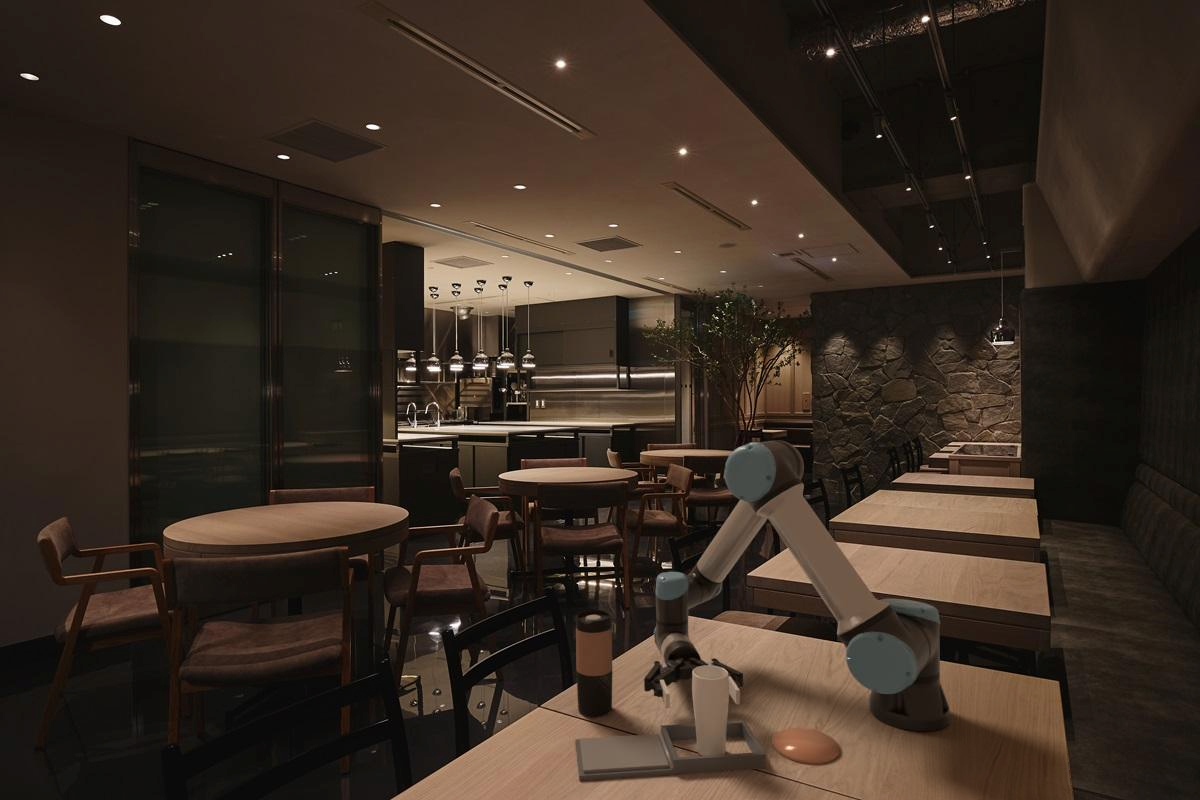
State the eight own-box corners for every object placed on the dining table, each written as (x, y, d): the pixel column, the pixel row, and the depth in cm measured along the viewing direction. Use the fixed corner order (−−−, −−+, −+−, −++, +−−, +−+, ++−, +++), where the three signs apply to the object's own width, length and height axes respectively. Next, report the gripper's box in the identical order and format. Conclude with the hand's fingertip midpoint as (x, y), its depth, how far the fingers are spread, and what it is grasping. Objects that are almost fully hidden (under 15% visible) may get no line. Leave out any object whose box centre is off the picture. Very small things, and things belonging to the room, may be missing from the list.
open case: (744, 733, 133) (744, 720, 133) (766, 768, 121) (766, 754, 121) (575, 743, 130) (575, 730, 130) (579, 780, 118) (579, 766, 118)
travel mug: (605, 698, 149) (603, 607, 149) (618, 713, 142) (617, 618, 142) (572, 705, 147) (570, 612, 146) (584, 720, 139) (582, 623, 139)
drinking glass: (685, 752, 126) (684, 672, 126) (707, 739, 131) (706, 661, 131) (715, 766, 121) (714, 682, 121) (737, 752, 126) (736, 671, 126)
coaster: (823, 729, 134) (822, 726, 134) (850, 761, 122) (850, 758, 122) (763, 732, 133) (763, 729, 133) (785, 766, 121) (785, 762, 121)
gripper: (736, 670, 152) (767, 715, 131) (625, 676, 150) (638, 722, 129) (735, 637, 152) (766, 676, 131) (624, 642, 150) (637, 682, 129)
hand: (703, 699), depth 130 cm, fingers open, 13 cm apart
